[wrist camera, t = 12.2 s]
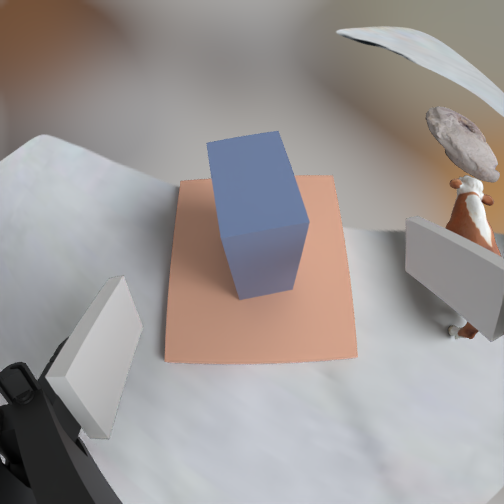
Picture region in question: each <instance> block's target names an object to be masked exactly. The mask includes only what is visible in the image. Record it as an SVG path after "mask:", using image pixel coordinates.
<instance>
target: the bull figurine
mask: <svg viewBox="0 0 504 504" xmlns="http://www.w3.org/2000/svg"><path fill="white" fill-rule="evenodd" d="M450 186H451V187H452V188H455V189H457V198H456V201H455V204H454V208H453V211H452V214H451V218H450V221H449V222H448V224H447V226H446V229H448V230H450V231H452V232H454V233H456V234H458V235H460V236H462V237H464V238H466V239H468V240H470V241H472V242H474V243H476V244H478V245H480V246H482V247H484V248H486V249H488V250H490V251H492V252H493V253H495V254H497V255H499V256H501V255H500V252H499V249H498V247H497V245H496V242H495V238H494V233H493V230H492V227H491V225H490V224H489V222H488V220H487V219H486V214H485V209H484V206H483V204H482V203H484V204H486V205H489V206H490V205H492V204H493V203H494V201H493V199H492V197H491V196H489V195H485V194H483V193H482V191H483V184H482V182H481V181H480V180H478V179H476V178H472V177H470V176H464V177H463V178H462V177H460V178H459V179H453V180H451V181H450ZM477 332H478V330H477V329H476V328H475V327H474V326H472V325H471V324H470V323H469V322H467V324H466V325H465V326H464V327H462V328H458V327H456V326H454V325H452V326H450V327H449V328H448V333H449V334H450V335H451V336H455V339H458V338H469V339H473V338H474V336H475V334H476V333H477ZM503 335H504V334H503Z"/></svg>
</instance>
